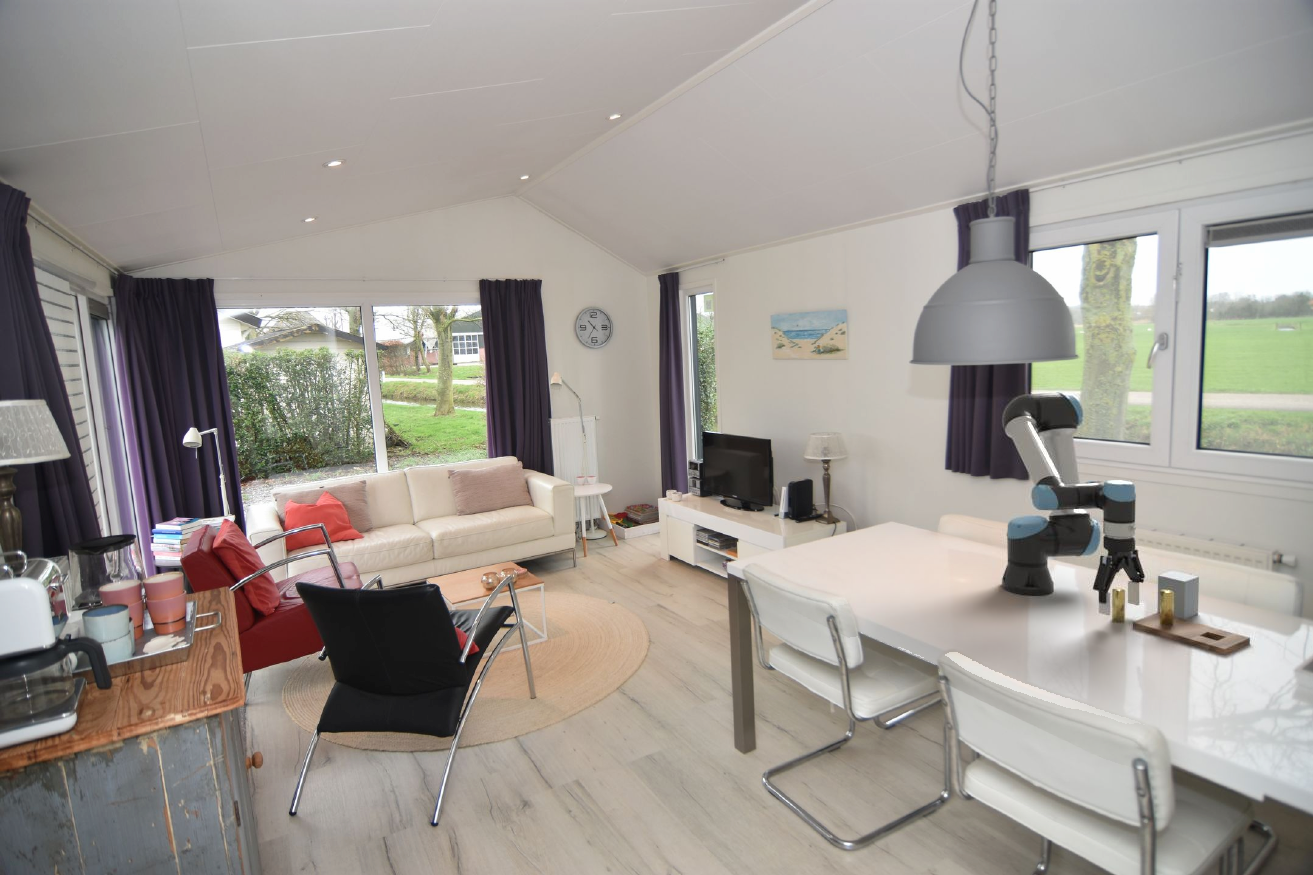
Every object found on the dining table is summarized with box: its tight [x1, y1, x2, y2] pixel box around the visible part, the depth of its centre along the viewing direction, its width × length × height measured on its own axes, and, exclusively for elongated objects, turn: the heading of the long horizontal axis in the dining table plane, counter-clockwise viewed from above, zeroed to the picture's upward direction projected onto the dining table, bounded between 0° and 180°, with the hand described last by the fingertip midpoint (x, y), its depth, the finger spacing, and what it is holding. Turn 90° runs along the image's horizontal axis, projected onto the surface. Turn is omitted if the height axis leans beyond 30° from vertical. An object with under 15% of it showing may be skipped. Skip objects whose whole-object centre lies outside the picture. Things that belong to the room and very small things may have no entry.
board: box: [1132, 612, 1251, 656], centre depth 189 cm, size 22×12×2 cm, turn 26°
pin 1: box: [1111, 587, 1126, 623], centre depth 201 cm, size 3×3×9 cm
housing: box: [1157, 570, 1200, 620], centre depth 203 cm, size 7×7×11 cm
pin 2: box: [1159, 590, 1174, 625], centre depth 193 cm, size 3×3×9 cm
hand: (1119, 608), depth 200 cm, fingers open, 13 cm apart
